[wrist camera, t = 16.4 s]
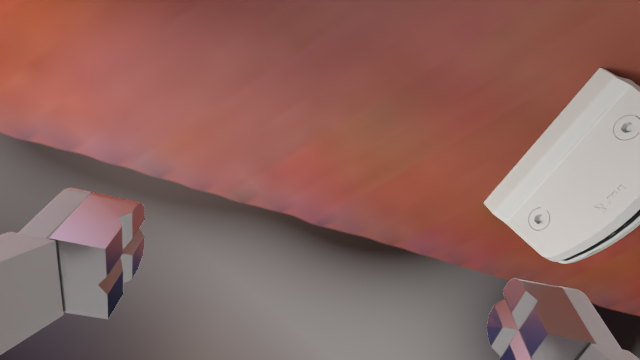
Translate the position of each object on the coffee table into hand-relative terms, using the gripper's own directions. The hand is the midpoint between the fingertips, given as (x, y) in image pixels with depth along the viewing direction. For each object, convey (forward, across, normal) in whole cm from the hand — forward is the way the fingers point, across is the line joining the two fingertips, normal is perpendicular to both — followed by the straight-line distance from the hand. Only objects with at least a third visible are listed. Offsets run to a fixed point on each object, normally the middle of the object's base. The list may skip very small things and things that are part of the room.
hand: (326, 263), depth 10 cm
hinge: (+32, -25, +8) cm, 41 cm away
